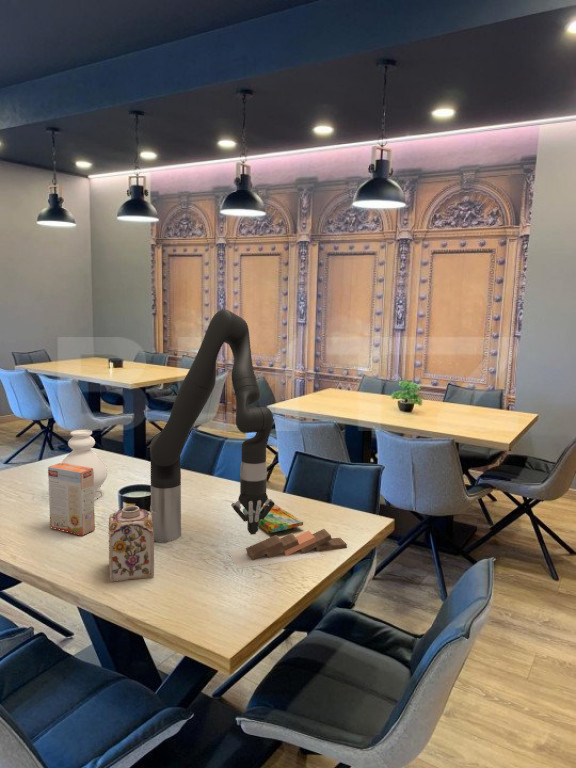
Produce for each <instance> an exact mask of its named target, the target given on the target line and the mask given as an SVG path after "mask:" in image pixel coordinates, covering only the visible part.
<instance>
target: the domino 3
mask: <svg viewBox="0 0 576 768" xmlns="http://www.w3.org/2000/svg"><path fill="white" fill-rule="evenodd" d="M312 534H313V533H312V532H311V531H310V530H307V531H305V532H303V533H301V534H298V535H297V536H295V537H296V539H297V540H298V543H299V545H297V546H295V547H292V548H290V549H288V550H286V551H283V552H284V554H285V555H286V556H287V555H289V554H291V553H293V552H295V551H298V550H300V549H302V548H304V547H306V546H308V545H310V544H313V543H315V542H316V539H315V537H314V536H313V535H312Z"/></svg>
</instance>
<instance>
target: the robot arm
mask: <svg viewBox="0 0 576 768" xmlns="http://www.w3.org/2000/svg"><path fill="white" fill-rule="evenodd" d="M246 321H247V320H245V319H244V318H243V317H241V316H239V315H237V314H236V313H234V312H232V311H230V310H229V309H224V308H223V309H221V310H218V311H217V312H216V313H215V314H214V315H213V317H212V318H211V319H210V321H209V324H208V326H207V328H206V331H205V334H204V336H203V339H202V341H201V344H200V346H199V349H198V351H197V353H196V355H195V358H194V360H193V362H192V364H191V366H190V368H189V370H188V372H187V373H186V375H185V377H184V379H183V381H182V383H181V386H180V387H179V389H178V391H177V394H176V396H175V399H174V402H173V405H172V408H171V412H170V415H169V418H168V420H167V421H166V423H165V425H164V427H163V428H162V430H161V432H159V433H157V434H156V435H155V436H153V438H152V439H151V442H150V448H149V452H150V506H149V512H151V514H152V520H153V521H152V522H153V529H154V542H158V543H169V542H172V541H175V540H178V539H180V538H181V537H182V471H181V454H182V451H183V449H184V446H185V443H186V441H187V438H188V436H189V434H190V431H191V429H192V427H193V425H194V424H195V422H196V421H197V419H199V416H200V415H201V412H202V411H203V409H204V408H205V406H206V404H207V402H208V400H209V399H210V397H211V394H212V392H213V391H214V388H215V385H216V379H217V360H218V359H217V358H218V356H219V353H220V351H221V349H222V347H223V344H224V343H225V344H227V345H229V347H230V350H231V353H232V355H233V366H232V369H231V385H232V388H233V392H234V395H235V403H236V404H235V406H236V407H235V408H236V409H235V412H236V413H235V425H236V429H238V431H239V432H241V433H244V434H248V433H249V434H250V433H255V434H254V436H253V437H251V438H248V439H246V440H244V441H242V443H241V463H240V479H239V481H240V483H239V484H240V487H239V489H240V490H239V491H240V492H239V496H238V500H236V501H235V502H232V503H231V508H232V509H233V511H235V513H236V514H237V515H238V516H239V518H241V520H242V521H243V522H247V523H246V524H247V525H246V526H247V532H248V533H249V534H250V535H251V536H252V535H257V533H258V531H259V527H258V522H259V520H261V519H264V518H265V517H266V516H267V514H268V513H269V512H270V510H271V509H272V507H273V506H274V505H275V502H274V501H273V499H270V498H269V497H268V494H267V477H268V472H267V471H268V469H267V446H268V442H269V438H270V434H271V431H272V428H273V425H274V416H273V412H272V411H271V409H270V408H269V407H267V406H256V407H248V406H249V405H252V404H254V403H256V402H258V401H259V400H260V397H261V393H260V389H259V385H258V382H257V381H258V380H257V379H256V375H255V369H254V364H253V361H252V360H253V359H252V350H251V349H252V348H251V339H250V338H251V337H250V330H249V326H248V323H247V322H246ZM263 505H265V506H264V507H263V509H262V510H261V511H260V509H261V508H262V506H263ZM242 507H243V509H244V508H245V509H246V513H247V516H246V515H244V513H243V510H241V509H242Z"/></svg>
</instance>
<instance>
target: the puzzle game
mask: <svg viewBox="0 0 576 768" xmlns="http://www.w3.org/2000/svg"><path fill="white" fill-rule="evenodd" d="M264 506H265V504H264V505H263V506H262V508H261V509H260V511H261V510H262V509H263V507H264ZM242 513H243V514H244V515H246V516H247V513H246V509H245V508H244V507H243V508H242ZM301 526H304V521H302V520H301V519H299V518H297V517H296V516H294V515H293V514H291V513H290V512H288V511H287V510H286V509H283V508H282V507H280V506H279V505H278V504H275V505H274V506H273V507H272V509H271V510H270V512H269V513H268V514H267V516H266V517H265V518H264V519H261V520H259V522H258V528H260V529H262V530H263V531H265V532H266V533H268V534H273V533H278V532H282V531H286V530H290V529H295V528H297V527H301Z"/></svg>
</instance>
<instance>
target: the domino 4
mask: <svg viewBox="0 0 576 768" xmlns="http://www.w3.org/2000/svg"><path fill="white" fill-rule="evenodd" d="M311 534H312V535H313V536H314V537H315V539H316V542H315V543H313V544H310V545H308V546H306V547H304V548H302V549H300V551H301V553H302V554H303V553H305V552H307V551H309V550H311V549H313V548H315V547H317V546H320V545H322V544H324V543H326V542H328V541H330V540H332V538H333V537H332V536H331V534H330V533H329V532H328V531H327V530H326V529H325V528H323V529H320V530H318V531H316V532H314V533H311Z"/></svg>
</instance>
